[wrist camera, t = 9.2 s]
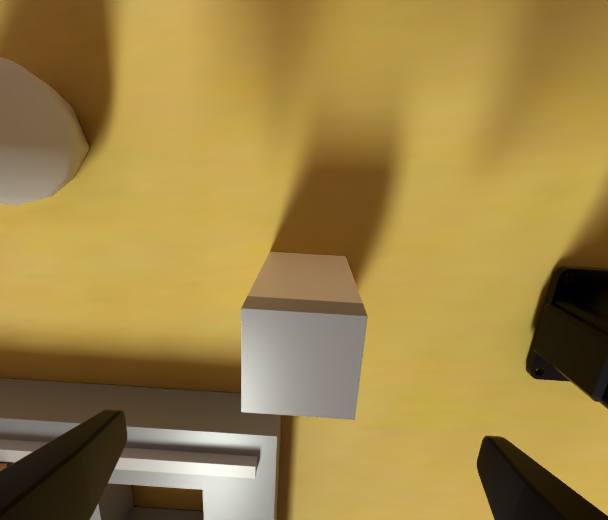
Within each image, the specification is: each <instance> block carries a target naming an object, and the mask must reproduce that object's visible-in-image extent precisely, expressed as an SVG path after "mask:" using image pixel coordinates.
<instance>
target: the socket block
mask: <svg viewBox="0 0 608 520" xmlns="http://www.w3.org/2000/svg"><path fill="white" fill-rule="evenodd" d="M105 409H119V410H123V411H124V413H125V419H126V427H127V442H126V445H125V448H124V450H123V452H122V454H121V456H120V458H119V461H118V463H117V465H116V467H115V469H114V471H113V473H112V475H111V478H110V480H109V482H108V484H107V486H106V488H105V490H104V492H103V495H102V497H101V499H100V501H99V503H98V505H97V507H96V509H95V511H94V513H93V515H92V517H91V519H90V520H277V507H278V484H279V462H280V439H281V416H282V415H277V414H262V413H246V412H241V393H225V392H210V391H195V390H179V389H164V388H149V387H134V386H118V385H103V384H88V383H72V382H57V381H42V380H27V379H11V378H0V463H4V464H7V467H8V466H10V465H11V464H13V463H15V462H16V461H18V460H20V459H22V458H23V457H25V456H27V455H28V454H30V453H32V452H33V451H35V450H37V449H38V448H40V447H42V446H44V445H45V444H47V443H49V442H50V441H52V440H54V439H55V438H57V437H59V436H61V435H62V434H64V433H66V432H67V431H69V430H71V429H72V428H74V427H76V426H78V425H79V424H81V423H83V422H84V421H86V420H88V419H89V418H91V417H93V416H94V415H96V414H98V413H100V412H101V411H103V410H105ZM131 485H141V486H156V487H171V488H185V489H200V490H203V511H189V510H174V509H160V508H145V507H134V502H133V494H132V487H131Z"/></svg>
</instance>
